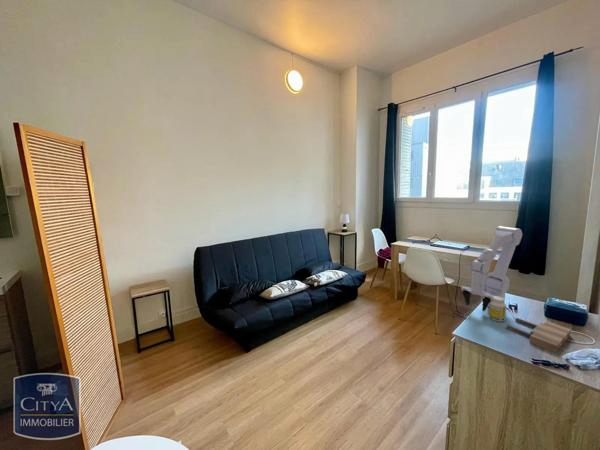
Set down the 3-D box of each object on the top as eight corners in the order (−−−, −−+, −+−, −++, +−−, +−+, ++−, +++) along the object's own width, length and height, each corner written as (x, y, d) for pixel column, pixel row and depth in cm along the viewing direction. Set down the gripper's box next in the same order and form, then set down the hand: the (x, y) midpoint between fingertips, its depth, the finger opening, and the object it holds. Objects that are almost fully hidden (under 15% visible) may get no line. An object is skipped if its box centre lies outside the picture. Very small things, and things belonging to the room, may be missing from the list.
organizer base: (519, 318, 123) (520, 312, 123) (570, 335, 108) (571, 329, 108) (502, 331, 113) (503, 325, 112) (555, 352, 98) (556, 345, 98)
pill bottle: (498, 315, 126) (501, 295, 124) (507, 322, 120) (510, 301, 118) (485, 315, 126) (487, 295, 125) (493, 321, 120) (496, 300, 119)
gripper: (459, 280, 133) (457, 303, 135) (490, 289, 120) (488, 315, 123) (465, 277, 136) (463, 300, 138) (497, 286, 124) (494, 311, 126)
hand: (475, 307), depth 131 cm, fingers open, 7 cm apart
